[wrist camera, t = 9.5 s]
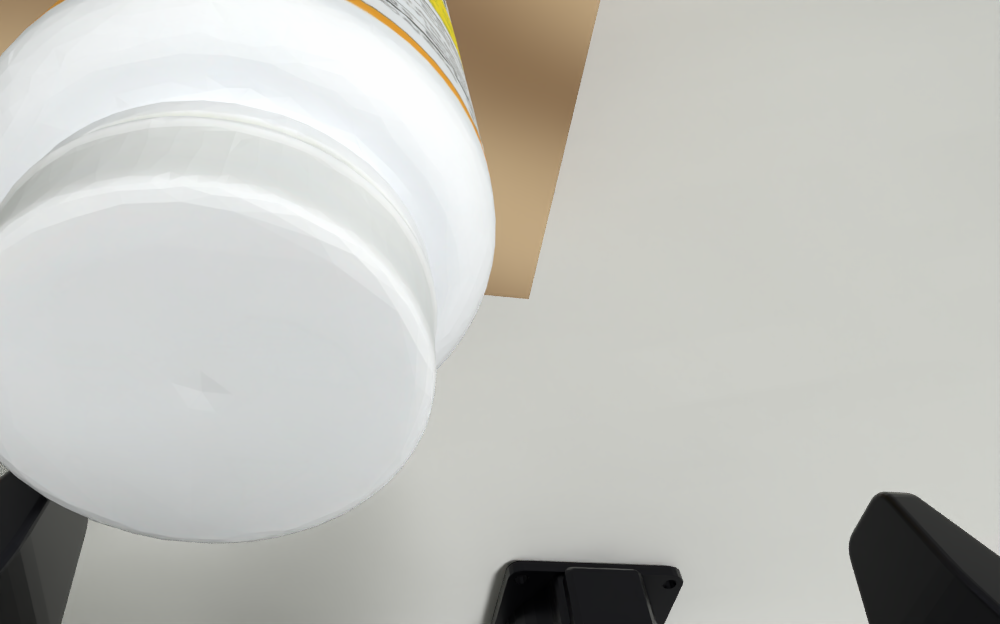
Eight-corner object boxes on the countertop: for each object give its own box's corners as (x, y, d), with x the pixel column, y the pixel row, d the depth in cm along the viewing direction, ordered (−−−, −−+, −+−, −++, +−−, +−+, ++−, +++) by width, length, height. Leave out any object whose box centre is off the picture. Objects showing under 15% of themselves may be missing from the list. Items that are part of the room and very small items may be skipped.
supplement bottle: (143, 147, 16) (-110, 594, 8) (129, -178, 13) (-306, -6, 5) (427, 184, 17) (467, 608, 9) (475, -106, 14) (604, 132, 6)
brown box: (514, 234, 22) (528, 298, 19) (62, 184, 20) (13, 249, 17) (623, -272, 16) (665, -272, 13) (-15, -419, 14) (-106, -452, 11)
